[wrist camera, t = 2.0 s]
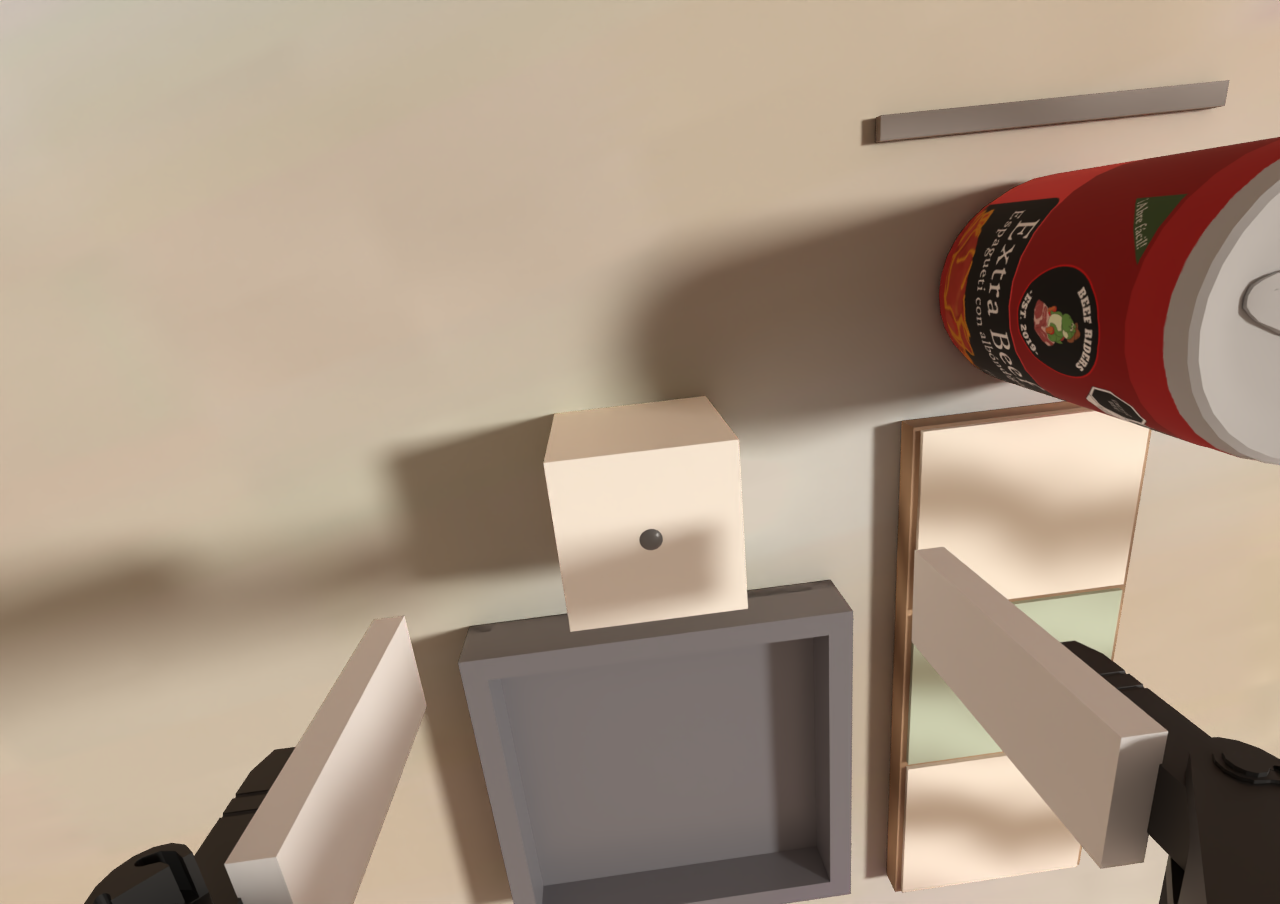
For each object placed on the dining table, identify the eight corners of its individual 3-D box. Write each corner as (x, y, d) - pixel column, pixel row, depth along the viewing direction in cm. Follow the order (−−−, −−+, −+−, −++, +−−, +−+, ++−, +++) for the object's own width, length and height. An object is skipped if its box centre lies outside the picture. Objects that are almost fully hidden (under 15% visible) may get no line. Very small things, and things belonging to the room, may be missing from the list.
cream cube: (550, 413, 25) (538, 465, 19) (705, 395, 25) (739, 441, 19) (571, 552, 26) (566, 638, 21) (715, 534, 27) (749, 614, 21)
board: (876, 117, 22) (891, 110, 21) (1218, 83, 22) (1252, 74, 21) (863, 876, 34) (872, 899, 32) (1088, 843, 34) (1105, 864, 33)
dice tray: (469, 626, 27) (457, 663, 25) (830, 580, 28) (852, 610, 25) (527, 891, 32) (522, 942, 30) (831, 847, 33) (850, 893, 30)
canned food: (925, 199, 23) (1202, 160, 13) (1136, 154, 23) (1586, 78, 13) (935, 398, 25) (1174, 503, 15) (1126, 356, 25) (1495, 432, 15)
